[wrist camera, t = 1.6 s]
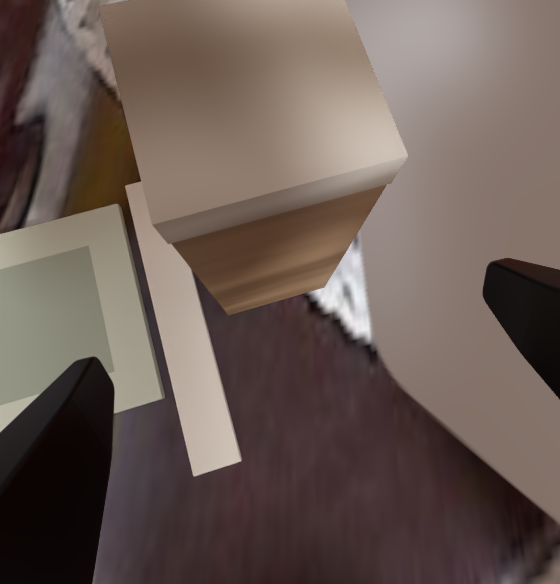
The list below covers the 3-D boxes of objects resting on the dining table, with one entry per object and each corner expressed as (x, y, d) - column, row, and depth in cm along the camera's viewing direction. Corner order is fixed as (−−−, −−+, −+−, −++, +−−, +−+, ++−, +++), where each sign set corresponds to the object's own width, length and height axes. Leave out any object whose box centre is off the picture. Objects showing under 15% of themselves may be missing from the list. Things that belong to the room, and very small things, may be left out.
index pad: (165, 397, 20) (161, 398, 19) (-32, 458, 19) (-42, 460, 18) (121, 207, 22) (117, 203, 21) (-57, 255, 21) (-67, 251, 20)
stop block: (325, 288, 21) (408, 156, 8) (227, 316, 20) (151, 225, 8) (295, 198, 22) (327, -44, 9) (202, 223, 22) (98, 6, 9)
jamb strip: (241, 458, 19) (241, 461, 18) (195, 473, 19) (193, 476, 18) (168, 179, 22) (166, 174, 22) (128, 189, 22) (124, 185, 21)
